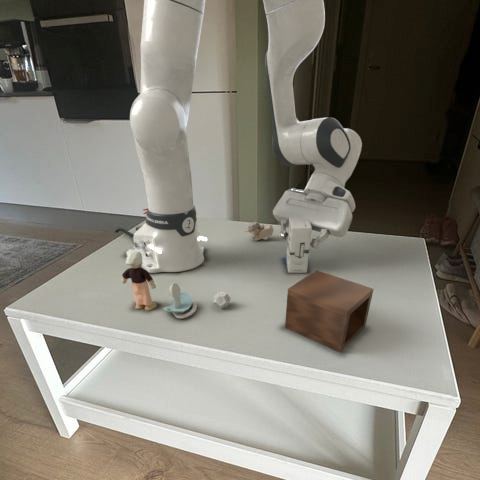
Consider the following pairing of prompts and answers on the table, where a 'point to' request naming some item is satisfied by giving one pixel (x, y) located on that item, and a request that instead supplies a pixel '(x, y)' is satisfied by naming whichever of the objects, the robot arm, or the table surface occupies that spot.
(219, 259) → the table surface
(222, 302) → the game die
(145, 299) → the grandmother figurine
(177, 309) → the pacifier
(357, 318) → the shelf
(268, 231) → the toy character
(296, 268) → the ink box
